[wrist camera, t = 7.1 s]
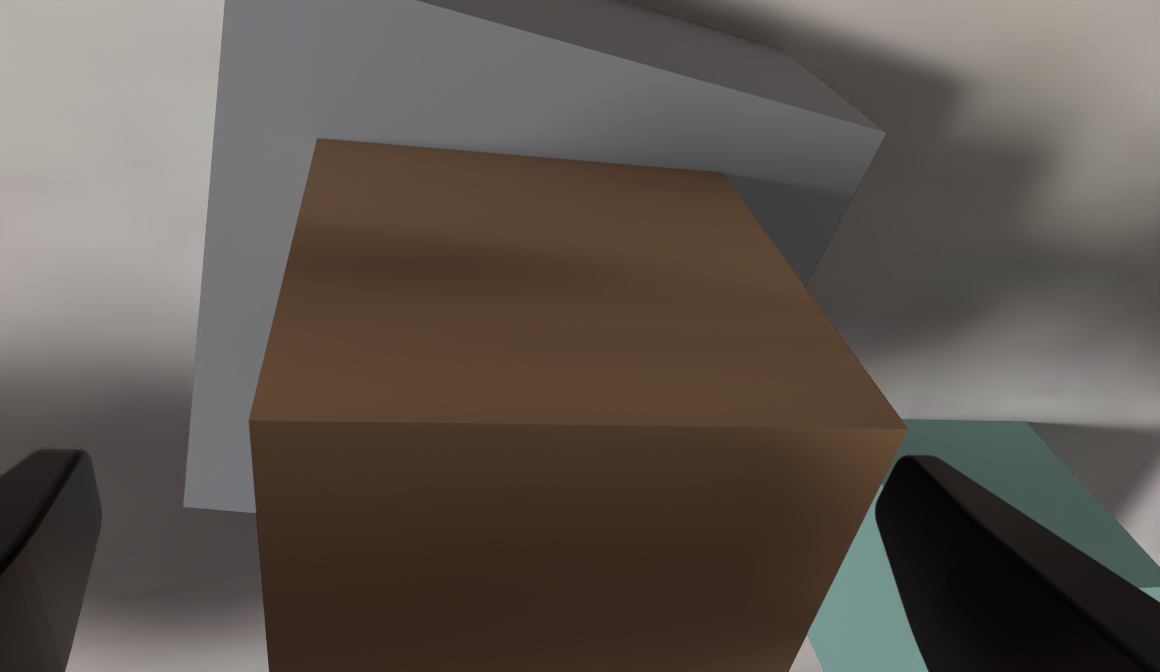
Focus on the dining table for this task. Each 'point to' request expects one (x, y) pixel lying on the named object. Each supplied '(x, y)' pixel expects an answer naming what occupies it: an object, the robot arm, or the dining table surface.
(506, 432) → the walnut cube
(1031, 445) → the teal cube
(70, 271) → the dining table surface
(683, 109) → the slate base block
